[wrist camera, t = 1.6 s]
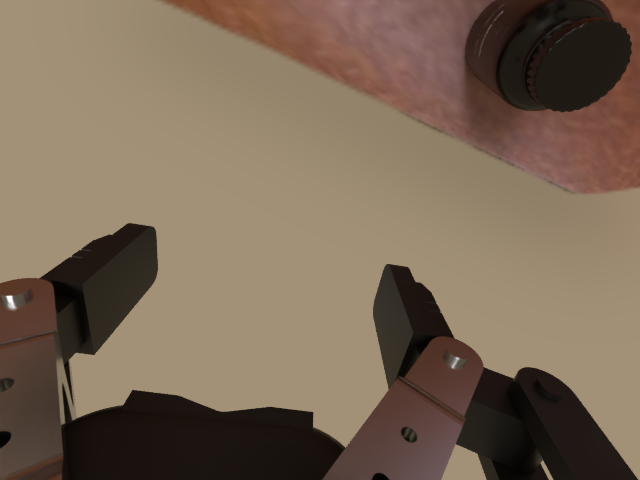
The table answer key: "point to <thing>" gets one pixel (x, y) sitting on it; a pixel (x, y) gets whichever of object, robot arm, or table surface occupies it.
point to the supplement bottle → (548, 52)
